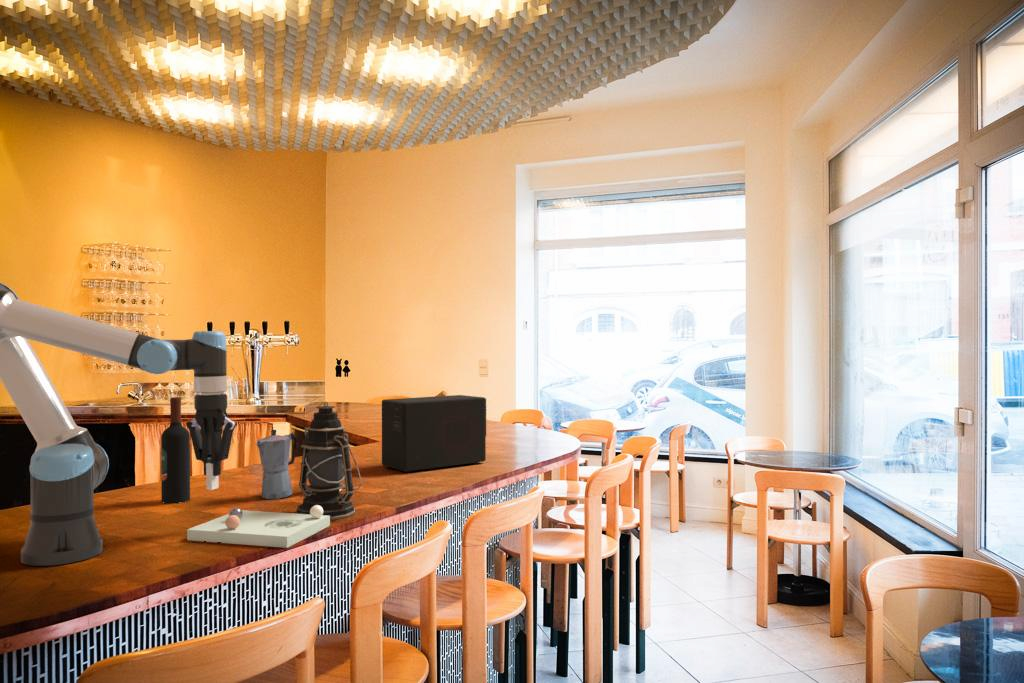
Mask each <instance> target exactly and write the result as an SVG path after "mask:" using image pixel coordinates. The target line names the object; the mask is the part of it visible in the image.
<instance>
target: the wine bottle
mask: <svg viewBox="0 0 1024 683" xmlns="http://www.w3.org/2000/svg"><path fill="white" fill-rule="evenodd" d="M169 404H170V408H169V409H170V413H169V414H170V415H169V416H170V423H169V426H168V427H167V428H165V429H164V430H163V432H162V433H161V435H160V436H161V437H160V438H161V440H160V442H161V443H160V444H161V448H160V449H161V450H160V451H161V452H160V453H161V454H160V455H161V456H160V458H161V459H160V460H161V461H160V463H161V464H160V466H161V471H160V472H161V476H160V477H161V484H160V486H161V488H160V489H161V496H160V497H161V501H162V502H164V503H163V504H165V503H176V504H180V503H179V502H183V503H186V502H185V501H187V502H189V501H188V500H191V434H190V431H189V429H188V428H187V427H185V426H183V425H182V397H180V396H179V397H178V396H177V397H176V396H173V397H170V400H169ZM162 502H161V503H162Z"/></svg>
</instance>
